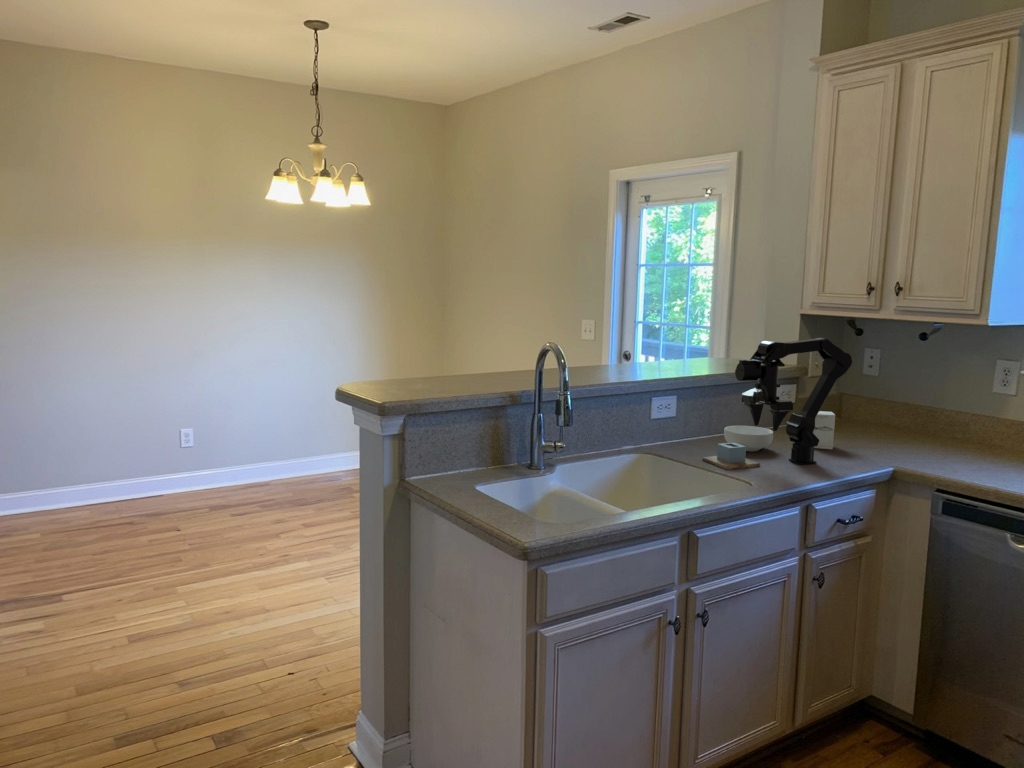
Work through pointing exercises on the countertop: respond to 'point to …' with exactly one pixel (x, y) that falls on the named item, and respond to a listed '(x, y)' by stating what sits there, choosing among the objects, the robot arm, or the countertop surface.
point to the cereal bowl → (749, 436)
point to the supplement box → (824, 429)
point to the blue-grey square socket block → (731, 452)
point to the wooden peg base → (730, 465)
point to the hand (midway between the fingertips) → (765, 428)
